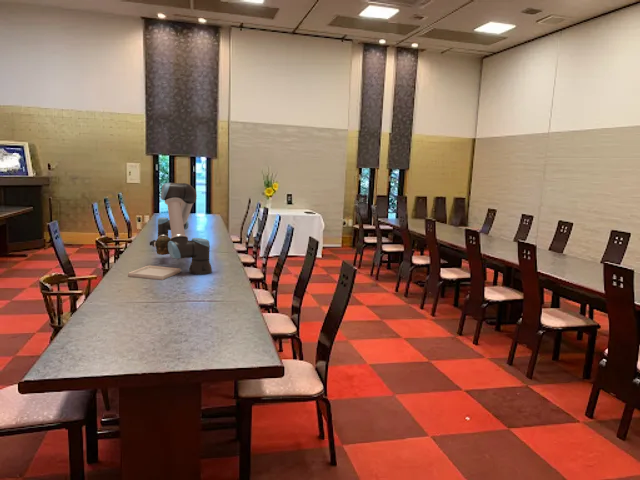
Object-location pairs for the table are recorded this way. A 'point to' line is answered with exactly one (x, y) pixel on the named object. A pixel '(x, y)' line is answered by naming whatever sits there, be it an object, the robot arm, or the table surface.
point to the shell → (162, 245)
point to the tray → (154, 272)
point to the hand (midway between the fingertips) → (163, 245)
